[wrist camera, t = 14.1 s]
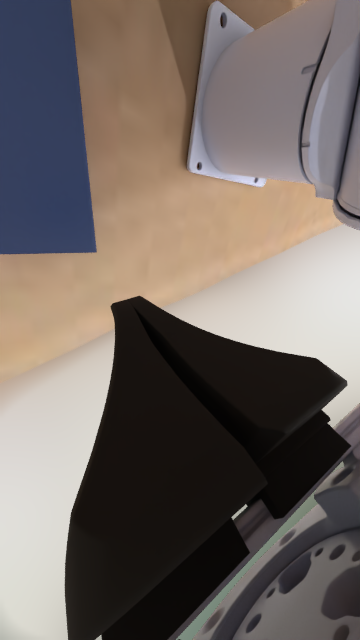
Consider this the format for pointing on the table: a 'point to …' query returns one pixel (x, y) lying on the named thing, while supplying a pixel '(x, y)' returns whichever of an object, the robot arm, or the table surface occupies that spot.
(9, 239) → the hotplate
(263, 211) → the table surface
